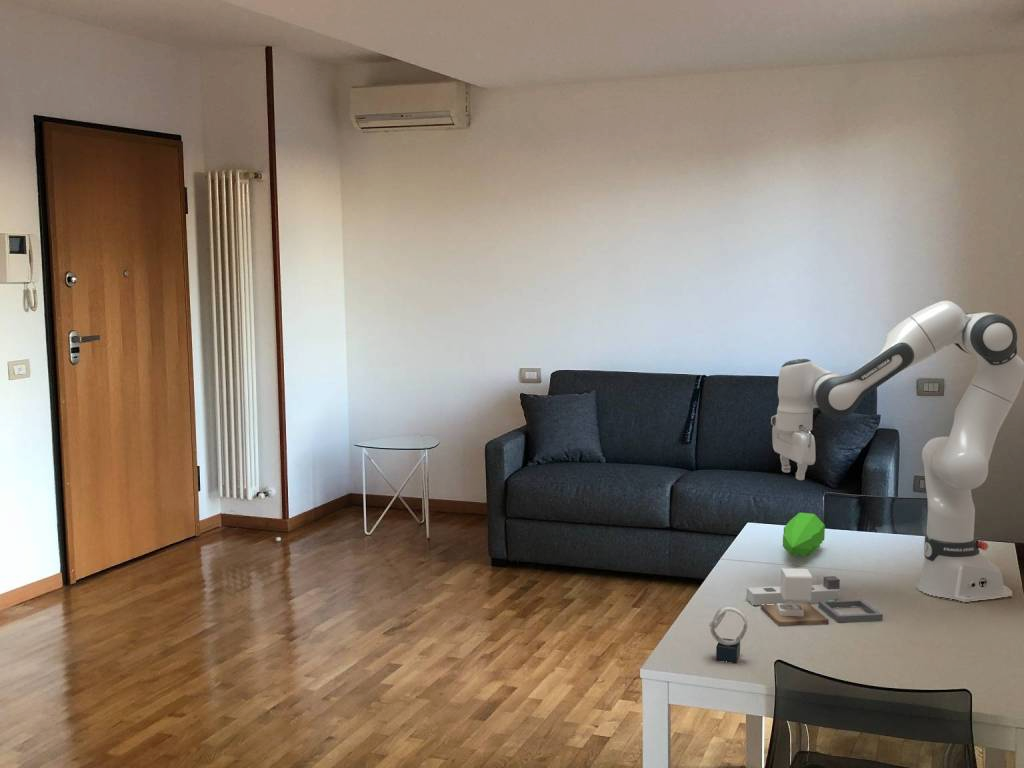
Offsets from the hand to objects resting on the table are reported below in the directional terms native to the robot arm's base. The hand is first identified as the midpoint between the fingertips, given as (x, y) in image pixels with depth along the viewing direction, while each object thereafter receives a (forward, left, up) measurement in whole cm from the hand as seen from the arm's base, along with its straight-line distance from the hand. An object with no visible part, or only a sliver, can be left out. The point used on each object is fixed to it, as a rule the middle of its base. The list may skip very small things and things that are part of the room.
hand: (792, 475), depth 273 cm
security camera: (+8, +23, -28) cm, 37 cm away
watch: (+32, +46, -29) cm, 63 cm away
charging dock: (-6, +23, -29) cm, 38 cm away
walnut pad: (+8, +23, -29) cm, 38 cm away
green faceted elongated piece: (-14, -27, -29) cm, 42 cm away
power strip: (+4, +14, -29) cm, 32 cm away
